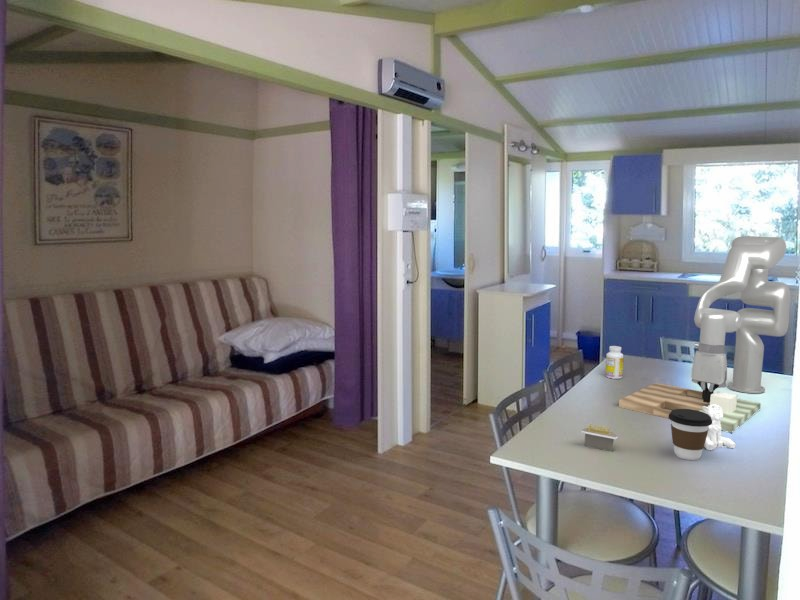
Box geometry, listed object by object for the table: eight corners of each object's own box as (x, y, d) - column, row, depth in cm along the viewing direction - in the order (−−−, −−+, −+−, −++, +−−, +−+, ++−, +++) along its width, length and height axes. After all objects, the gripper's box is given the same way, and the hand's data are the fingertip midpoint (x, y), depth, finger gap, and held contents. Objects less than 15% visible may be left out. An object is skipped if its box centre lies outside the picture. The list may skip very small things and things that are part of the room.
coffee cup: (689, 466, 161) (692, 423, 160) (657, 451, 171) (659, 410, 169) (718, 460, 165) (722, 417, 164) (685, 446, 175) (688, 406, 174)
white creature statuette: (707, 451, 172) (711, 410, 170) (687, 440, 180) (690, 401, 178) (736, 449, 174) (740, 408, 172) (715, 438, 182) (718, 399, 180)
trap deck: (655, 388, 234) (655, 382, 234) (760, 409, 210) (760, 402, 209) (618, 406, 212) (619, 399, 211) (731, 432, 187) (732, 425, 186)
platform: (574, 436, 184) (575, 415, 183) (636, 449, 174) (638, 427, 173) (561, 448, 174) (562, 426, 173) (627, 462, 164) (628, 439, 163)
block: (716, 405, 206) (718, 391, 205) (735, 410, 201) (737, 395, 200) (709, 409, 202) (710, 394, 201) (728, 413, 197) (729, 398, 196)
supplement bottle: (620, 375, 254) (621, 345, 252) (624, 379, 247) (626, 348, 246) (603, 375, 255) (605, 345, 253) (607, 379, 248) (609, 348, 246)
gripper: (684, 346, 206) (680, 399, 209) (732, 354, 196) (727, 409, 198) (692, 343, 211) (688, 394, 214) (739, 350, 201) (734, 404, 203)
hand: (707, 401), depth 206 cm, fingers closed
